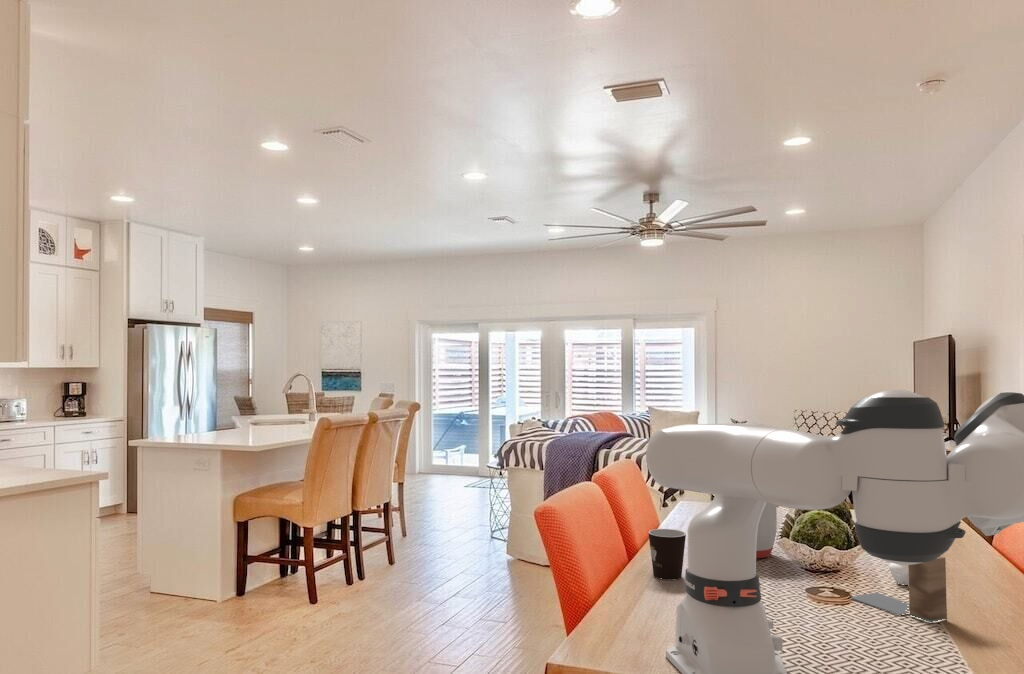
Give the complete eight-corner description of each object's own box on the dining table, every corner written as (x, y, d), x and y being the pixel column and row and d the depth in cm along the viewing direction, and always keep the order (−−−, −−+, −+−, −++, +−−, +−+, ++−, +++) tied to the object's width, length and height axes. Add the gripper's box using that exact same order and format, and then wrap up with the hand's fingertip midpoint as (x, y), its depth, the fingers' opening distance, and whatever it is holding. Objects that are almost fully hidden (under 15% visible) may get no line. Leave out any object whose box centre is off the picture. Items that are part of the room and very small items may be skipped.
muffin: (902, 579, 168) (902, 548, 168) (926, 586, 162) (925, 554, 163) (882, 581, 166) (882, 550, 166) (906, 589, 160) (905, 557, 160)
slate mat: (928, 611, 146) (928, 609, 146) (899, 616, 143) (899, 614, 143) (876, 594, 157) (876, 592, 157) (849, 598, 154) (849, 597, 154)
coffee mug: (687, 582, 165) (686, 537, 166) (648, 580, 167) (648, 536, 167) (685, 568, 176) (685, 527, 177) (649, 566, 178) (648, 525, 179)
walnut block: (947, 620, 140) (945, 557, 141) (930, 623, 138) (929, 559, 139) (925, 613, 144) (924, 552, 145) (909, 616, 143) (908, 554, 143)
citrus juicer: (797, 558, 187) (795, 479, 188) (742, 564, 180) (741, 483, 181) (755, 544, 201) (754, 471, 202) (703, 550, 195) (702, 474, 196)
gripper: (1019, 504, 116) (963, 554, 124) (1092, 492, 125) (1035, 540, 133) (989, 473, 120) (937, 523, 129) (1062, 464, 129) (1008, 511, 137)
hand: (987, 532), depth 131 cm, fingers closed
